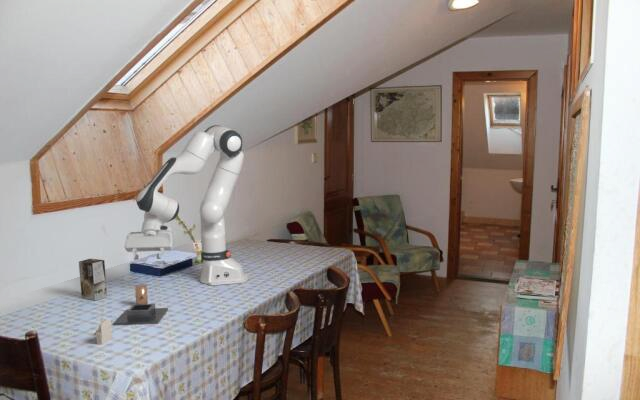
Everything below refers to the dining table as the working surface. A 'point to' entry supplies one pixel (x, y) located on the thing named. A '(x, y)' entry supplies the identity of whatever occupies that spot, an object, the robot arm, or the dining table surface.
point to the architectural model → (104, 332)
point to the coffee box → (93, 279)
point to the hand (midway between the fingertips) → (147, 258)
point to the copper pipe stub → (141, 294)
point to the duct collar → (141, 315)
